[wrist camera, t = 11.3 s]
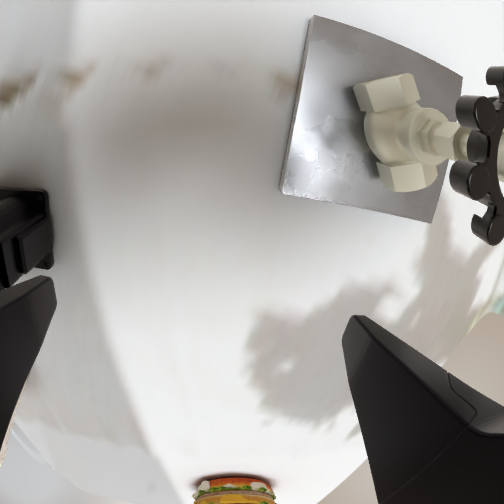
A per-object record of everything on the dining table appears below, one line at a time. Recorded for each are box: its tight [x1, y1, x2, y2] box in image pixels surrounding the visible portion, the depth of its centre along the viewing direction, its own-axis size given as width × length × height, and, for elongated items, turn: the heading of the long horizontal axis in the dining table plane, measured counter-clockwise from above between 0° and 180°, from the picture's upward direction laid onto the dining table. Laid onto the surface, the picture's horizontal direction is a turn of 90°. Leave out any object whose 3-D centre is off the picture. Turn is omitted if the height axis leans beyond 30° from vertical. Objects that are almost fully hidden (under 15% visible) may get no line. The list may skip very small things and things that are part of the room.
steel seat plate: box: [279, 15, 463, 223], centre depth 18 cm, size 12×12×1 cm
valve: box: [353, 66, 504, 246], centre depth 12 cm, size 7×7×12 cm
